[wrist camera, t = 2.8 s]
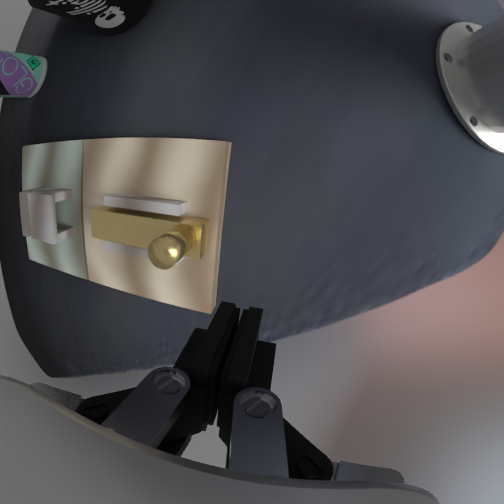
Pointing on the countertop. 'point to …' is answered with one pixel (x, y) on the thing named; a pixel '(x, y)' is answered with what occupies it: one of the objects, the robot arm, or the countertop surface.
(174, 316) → the countertop surface
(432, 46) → the countertop surface
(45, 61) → the spray can
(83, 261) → the latch board
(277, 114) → the countertop surface
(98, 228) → the bolt
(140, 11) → the beverage can
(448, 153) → the countertop surface
